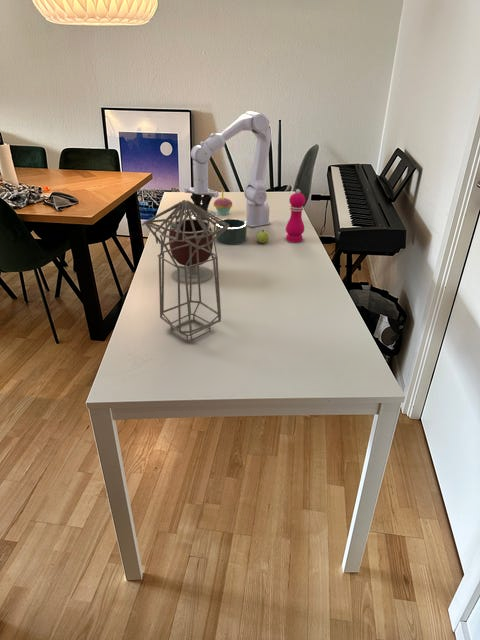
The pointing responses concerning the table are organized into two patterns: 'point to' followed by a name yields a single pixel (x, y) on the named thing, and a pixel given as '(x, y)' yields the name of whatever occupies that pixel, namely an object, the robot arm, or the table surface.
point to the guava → (262, 237)
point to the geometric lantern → (193, 208)
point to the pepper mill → (295, 218)
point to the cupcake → (223, 205)
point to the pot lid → (202, 210)
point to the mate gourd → (184, 252)
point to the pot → (232, 232)
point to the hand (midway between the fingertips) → (201, 212)
